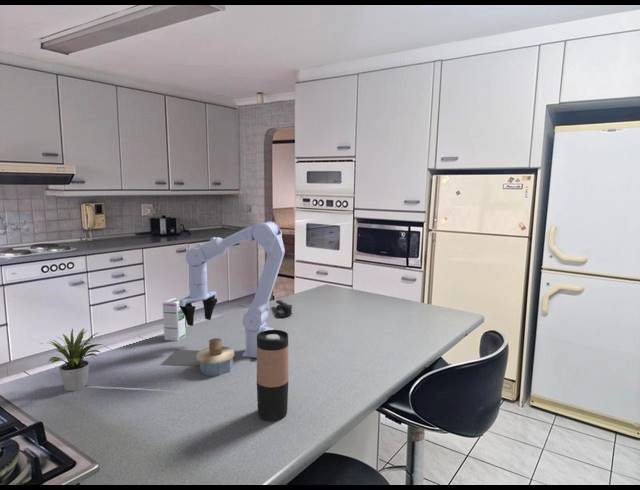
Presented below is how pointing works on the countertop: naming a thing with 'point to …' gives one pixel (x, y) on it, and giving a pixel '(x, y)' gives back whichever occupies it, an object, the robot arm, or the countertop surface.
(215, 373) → the bowl
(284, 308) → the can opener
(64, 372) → the house plant
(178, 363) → the mat
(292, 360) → the countertop surface
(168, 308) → the syrup box
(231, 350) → the lid
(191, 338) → the countertop surface
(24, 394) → the countertop surface
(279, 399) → the travel mug
